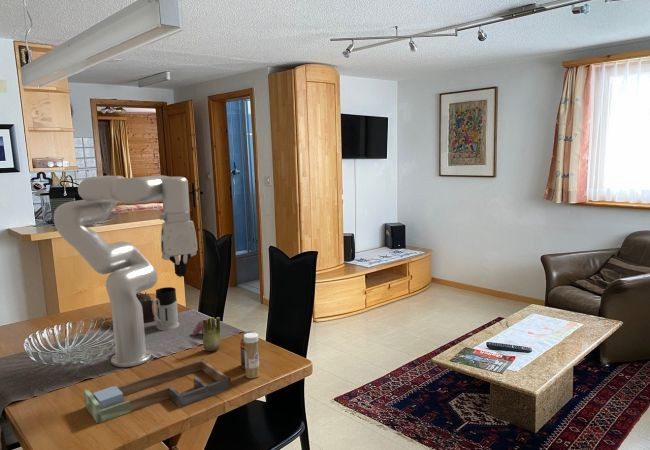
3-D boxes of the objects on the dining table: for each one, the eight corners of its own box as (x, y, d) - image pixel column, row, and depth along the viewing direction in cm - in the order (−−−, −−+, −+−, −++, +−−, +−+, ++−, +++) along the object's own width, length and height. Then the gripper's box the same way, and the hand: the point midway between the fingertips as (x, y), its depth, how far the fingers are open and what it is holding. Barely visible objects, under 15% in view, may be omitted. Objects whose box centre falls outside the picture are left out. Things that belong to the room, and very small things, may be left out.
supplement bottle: (256, 371, 155) (254, 337, 153) (238, 369, 156) (236, 336, 155) (262, 363, 161) (260, 330, 159) (245, 361, 162) (243, 329, 160)
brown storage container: (156, 321, 202) (153, 278, 199) (128, 326, 196) (124, 283, 193) (149, 310, 215) (146, 270, 212) (122, 315, 209) (119, 274, 206)
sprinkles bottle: (256, 379, 149) (254, 338, 147) (242, 378, 151) (240, 336, 149) (262, 373, 154) (260, 332, 152) (249, 371, 155) (247, 331, 153)
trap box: (85, 407, 135) (84, 390, 134) (203, 367, 158) (202, 353, 157) (106, 435, 122) (104, 416, 121) (231, 388, 145) (230, 372, 144)
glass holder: (183, 322, 199) (181, 287, 197) (165, 336, 185) (162, 298, 183) (163, 321, 201) (161, 286, 198) (144, 334, 187) (141, 296, 185)
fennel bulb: (222, 347, 174) (221, 315, 172) (218, 353, 169) (216, 320, 167) (206, 347, 174) (205, 315, 172) (202, 353, 170) (200, 320, 168)
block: (94, 409, 134) (92, 393, 133) (117, 402, 138) (115, 385, 137) (101, 418, 130) (100, 401, 129) (124, 410, 134) (123, 393, 133)
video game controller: (218, 341, 184) (222, 322, 185) (210, 339, 180) (215, 320, 182) (198, 336, 189) (203, 318, 190) (190, 334, 185) (195, 316, 187)
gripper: (157, 221, 141) (161, 282, 144) (205, 216, 150) (208, 274, 153) (148, 218, 147) (152, 277, 150) (195, 213, 156) (198, 269, 159)
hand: (180, 275), depth 151 cm, fingers closed
